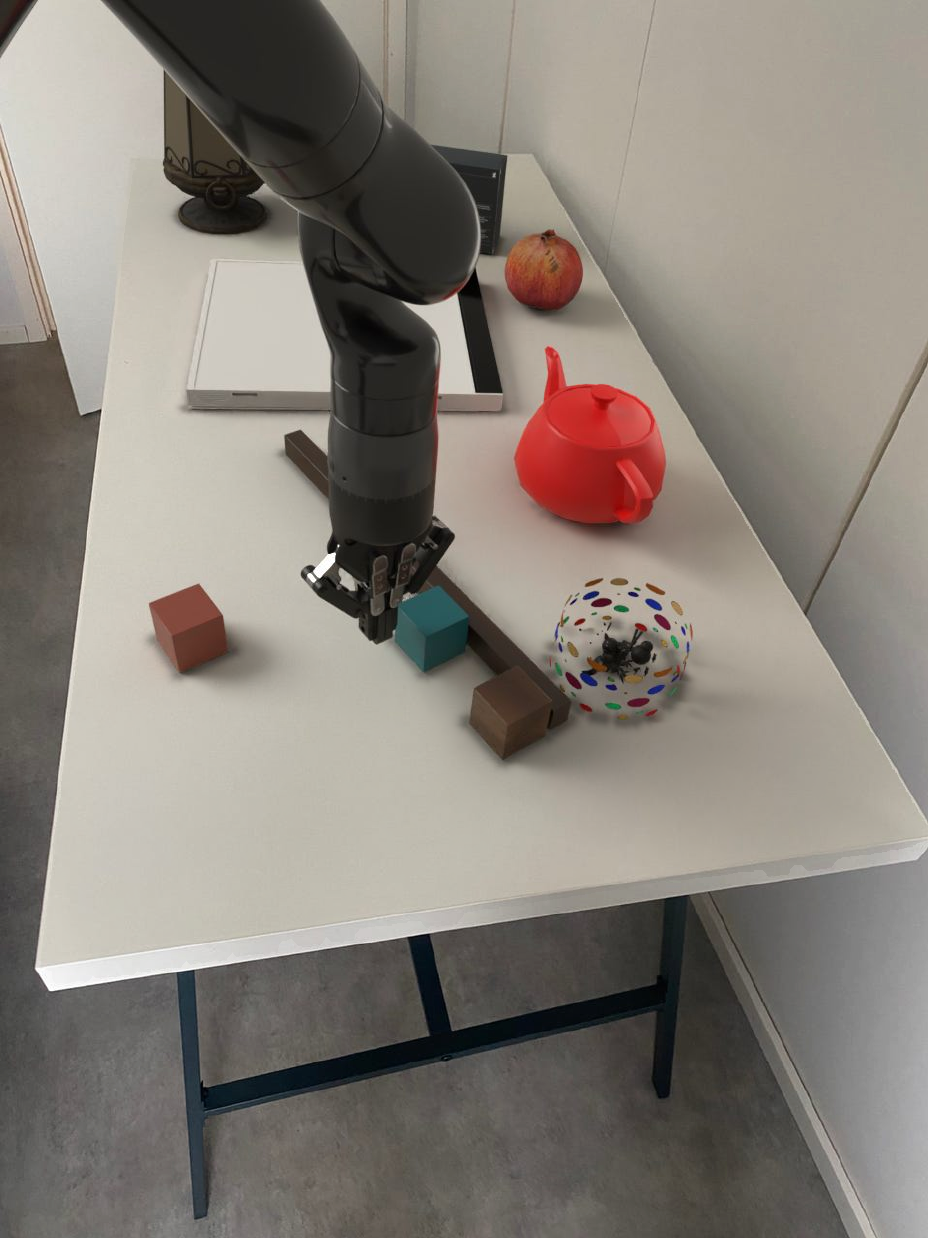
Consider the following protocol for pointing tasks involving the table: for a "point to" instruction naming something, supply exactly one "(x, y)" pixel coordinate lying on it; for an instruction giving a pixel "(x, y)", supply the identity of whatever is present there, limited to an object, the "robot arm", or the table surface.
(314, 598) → the table surface
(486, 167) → the box
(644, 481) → the teapot
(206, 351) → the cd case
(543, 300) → the fruit
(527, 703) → the block walnut
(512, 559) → the table surface
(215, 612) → the block brick
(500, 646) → the rail
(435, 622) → the block teal
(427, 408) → the robot arm
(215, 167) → the lantern
